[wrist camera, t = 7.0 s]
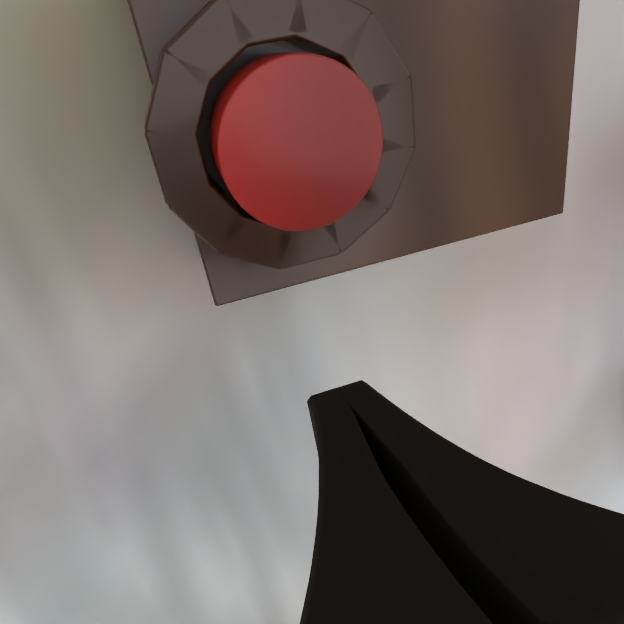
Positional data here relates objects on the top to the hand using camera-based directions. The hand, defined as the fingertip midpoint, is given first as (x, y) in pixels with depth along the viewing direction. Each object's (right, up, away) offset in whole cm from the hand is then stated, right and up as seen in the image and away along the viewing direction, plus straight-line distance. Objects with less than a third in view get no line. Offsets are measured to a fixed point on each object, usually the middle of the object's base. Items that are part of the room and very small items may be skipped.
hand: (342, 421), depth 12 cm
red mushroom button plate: (+1, +10, +7) cm, 13 cm away
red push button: (-1, +7, +2) cm, 7 cm away
